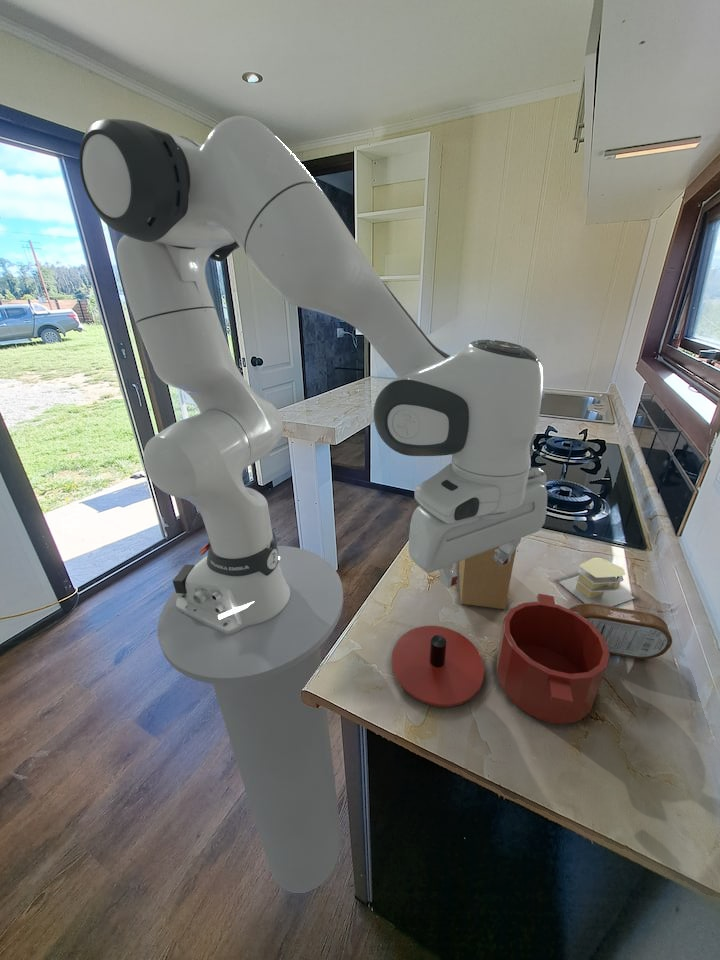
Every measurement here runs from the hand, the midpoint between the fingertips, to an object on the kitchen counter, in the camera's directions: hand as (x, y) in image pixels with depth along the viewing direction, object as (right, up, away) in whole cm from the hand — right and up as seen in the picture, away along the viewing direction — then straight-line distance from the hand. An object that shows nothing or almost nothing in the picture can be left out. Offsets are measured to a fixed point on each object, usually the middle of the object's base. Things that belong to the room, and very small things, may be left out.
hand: (475, 572), depth 52 cm
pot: (+12, -18, +7) cm, 23 cm away
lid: (-3, -17, +9) cm, 20 cm away
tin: (+26, -16, +11) cm, 32 cm away
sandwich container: (+9, -8, +28) cm, 30 cm away
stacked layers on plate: (+31, -9, +24) cm, 40 cm away
